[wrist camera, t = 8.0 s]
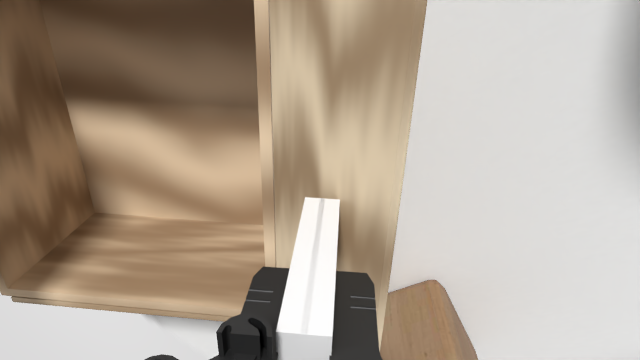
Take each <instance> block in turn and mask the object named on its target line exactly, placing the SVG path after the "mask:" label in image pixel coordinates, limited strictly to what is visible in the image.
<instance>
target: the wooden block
mask: <svg viewBox="0 0 640 360" xmlns="http://www.w3.org/2000/svg"><path fill="white" fill-rule="evenodd" d="M380 355H381V357H382V359H383V360H478V358H477V355H476V352H475V349H474V347H473V345H472V343H471V341H470V339H469V337H468V335H467V333H466V331H465V329H464V327H463V325H462V323H461V321H460V319H459V317H458V315H457V313H456V311H455V309H454V307H453V305H452V302H451V300H450V298H449V296H448V294H447V292H446V290H445V288H444V287H443V286H442V285H441V284H440V283H439V282H437V281H436V280H427V281H424V282H421V283H418V284H415V285H412V286H409V287H406V288H403V289H399V290H396V291H393V292H390V293H388V295H387V302H386V310H385V317H384V325H383V332H382V340H381V347H380Z"/></svg>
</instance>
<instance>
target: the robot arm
mask: <svg viewBox="0 0 640 360" xmlns="http://www.w3.org/2000/svg"><path fill="white" fill-rule="evenodd" d="M339 207H340V200H339V199H325V198H309V197H305V200H304V205H303V210H302V214H301V219H300V223H299V228H298V233H297V237H296V242H295V246H294V251H293V256H292V260H291V265H290V268H277V267H262V268H261V269H260V270H259V271H258V272H257V273H256V274H255V275H254V276H253V278H252V281H251V284H250V287H249V291H248V293H247V296H246V301H245V302H244V305H243V308H242V311H241V314H239V315H237V316H234V317H231V318H229V319H228V320H226V321H225V322H224V323H222V324H221V326H220V327H219V329H218V330H217V332H216V333H217V341H218V350H219V355H218V356H216V357H214V358H212V359H210V360H383V359H382V357H381V355H380V351H379V341H378V327H377V314H376V300H375V287H374V283H373V282H372V280H371V278H370V277H369V275H368V274H367V273H360V272H346V271H336V262H337V244H338V225H339ZM145 360H178V359H176V358H175V357H173V356H169V355H157V356H152V357H149V358H147V359H145Z"/></svg>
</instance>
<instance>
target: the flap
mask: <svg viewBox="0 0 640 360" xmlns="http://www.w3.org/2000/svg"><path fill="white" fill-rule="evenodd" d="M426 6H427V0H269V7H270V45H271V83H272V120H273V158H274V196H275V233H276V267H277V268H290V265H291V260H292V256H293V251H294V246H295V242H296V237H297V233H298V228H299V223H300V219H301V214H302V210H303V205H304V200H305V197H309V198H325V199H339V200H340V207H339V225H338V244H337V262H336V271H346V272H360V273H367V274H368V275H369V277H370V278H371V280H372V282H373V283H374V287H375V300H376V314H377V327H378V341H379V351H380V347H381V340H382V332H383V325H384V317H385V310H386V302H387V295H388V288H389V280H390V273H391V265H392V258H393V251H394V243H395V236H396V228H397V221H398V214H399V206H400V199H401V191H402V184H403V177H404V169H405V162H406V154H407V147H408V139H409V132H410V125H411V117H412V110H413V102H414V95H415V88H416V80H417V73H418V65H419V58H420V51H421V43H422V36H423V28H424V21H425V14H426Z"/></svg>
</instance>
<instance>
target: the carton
mask: <svg viewBox="0 0 640 360" xmlns="http://www.w3.org/2000/svg"><path fill="white" fill-rule="evenodd" d="M262 267H276V233H275V196H274V158H273V120H272V83H271V45H270V7H269V0H0V292H1V294H2V295H7V296H12V297H11V298H12V301H13V302H21V303H33V304H43V305H53V306H65V307H76V308H86V309H96V310H108V311H118V312H128V313H139V314H150V315H161V316H171V317H182V318H193V319H203V320H214V321H226V320H228V319H229V318H231V317H234V316H237V315H239V314H241V311H242V308H243V305H244V302H245V301H246V296H247V293H248V291H249V287H250V284H251V281H252V278H253V276H254V275H255V274H256V273H257V272H258V271H259V270H260V269H261V268H262Z"/></svg>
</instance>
